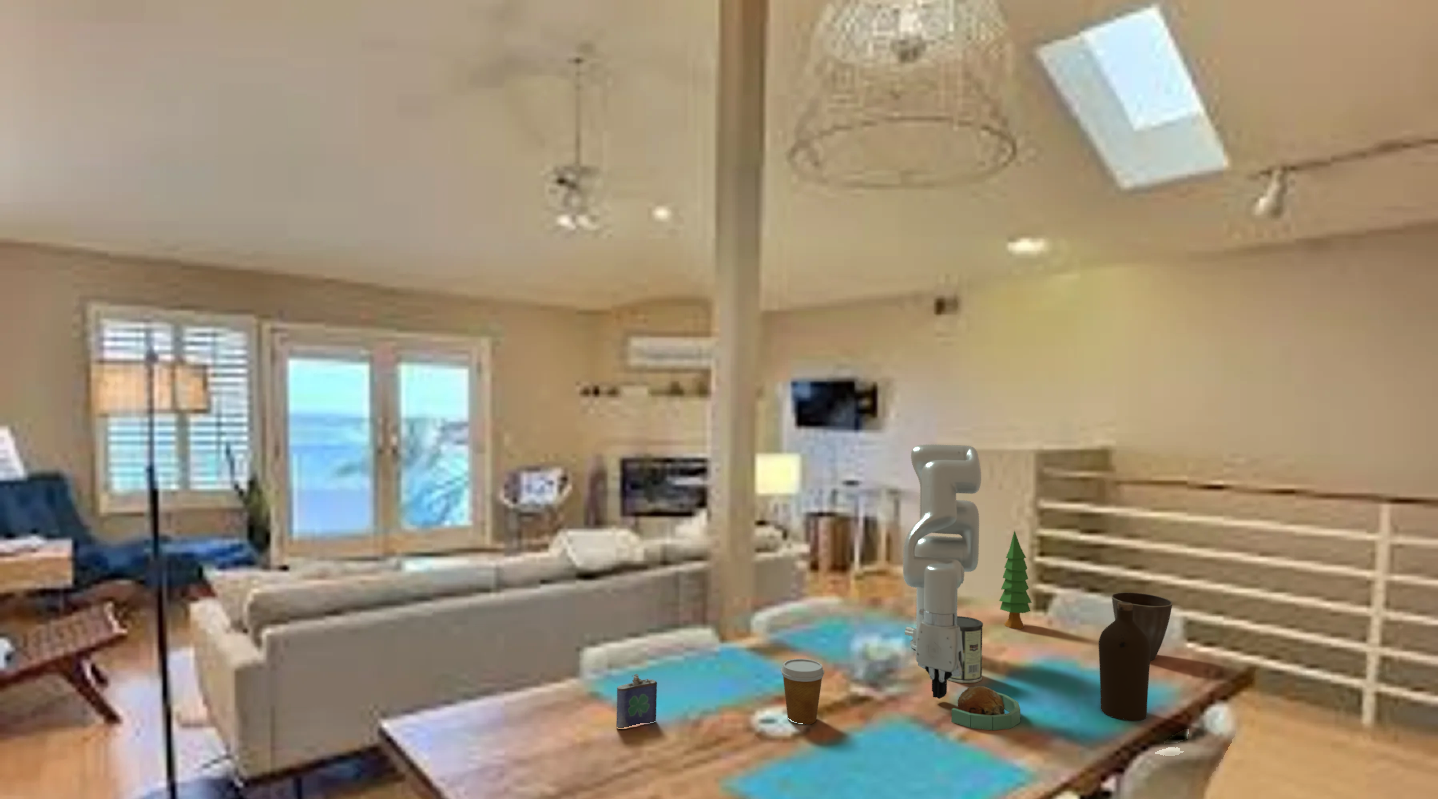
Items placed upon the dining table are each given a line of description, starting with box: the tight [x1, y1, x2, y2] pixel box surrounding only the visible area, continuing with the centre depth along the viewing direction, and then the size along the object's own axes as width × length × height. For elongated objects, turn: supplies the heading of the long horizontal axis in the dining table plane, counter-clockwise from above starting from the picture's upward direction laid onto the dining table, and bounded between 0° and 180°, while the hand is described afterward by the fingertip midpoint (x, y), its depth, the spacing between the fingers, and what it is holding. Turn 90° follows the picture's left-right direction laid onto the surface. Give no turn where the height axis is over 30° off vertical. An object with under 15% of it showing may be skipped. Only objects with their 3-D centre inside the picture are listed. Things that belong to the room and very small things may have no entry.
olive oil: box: [1098, 602, 1151, 722], centre depth 186 cm, size 11×11×25 cm
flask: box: [616, 673, 658, 728], centre depth 177 cm, size 9×3×11 cm, turn 121°
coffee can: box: [947, 615, 984, 684], centre depth 209 cm, size 10×10×14 cm
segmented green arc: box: [950, 691, 1021, 731], centre depth 183 cm, size 11×17×3 cm, turn 136°
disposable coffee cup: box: [780, 658, 825, 725], centre depth 181 cm, size 10×10×12 cm
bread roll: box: [957, 685, 1006, 715], centre depth 185 cm, size 10×10×8 cm
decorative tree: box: [998, 530, 1032, 630], centre depth 256 cm, size 10×9×30 cm
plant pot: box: [1111, 591, 1173, 661], centre depth 227 cm, size 15×15×16 cm
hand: (939, 696), depth 192 cm, fingers closed
